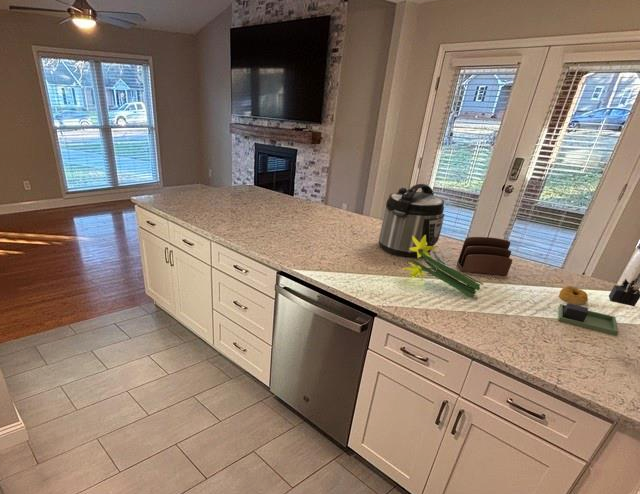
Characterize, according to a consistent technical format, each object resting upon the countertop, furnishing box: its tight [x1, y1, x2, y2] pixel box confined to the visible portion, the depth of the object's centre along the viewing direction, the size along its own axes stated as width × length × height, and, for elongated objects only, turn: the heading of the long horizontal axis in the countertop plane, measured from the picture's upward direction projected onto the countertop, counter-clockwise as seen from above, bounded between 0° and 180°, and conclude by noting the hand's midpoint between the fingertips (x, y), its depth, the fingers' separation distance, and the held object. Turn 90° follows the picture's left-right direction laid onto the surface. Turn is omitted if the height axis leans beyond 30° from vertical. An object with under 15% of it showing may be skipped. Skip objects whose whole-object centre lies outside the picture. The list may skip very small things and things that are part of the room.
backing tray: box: [557, 303, 619, 337], centre depth 152 cm, size 18×14×2 cm
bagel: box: [558, 285, 589, 306], centre depth 167 cm, size 10×11×5 cm
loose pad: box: [608, 284, 640, 307], centre depth 135 cm, size 6×5×4 cm
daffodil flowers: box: [402, 235, 484, 299], centre depth 172 cm, size 17×15×35 cm
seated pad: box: [563, 302, 589, 322], centre depth 153 cm, size 6×5×4 cm
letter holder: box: [456, 236, 514, 276], centre depth 189 cm, size 10×20×14 cm, turn 80°
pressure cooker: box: [378, 183, 445, 258], centre depth 203 cm, size 30×28×32 cm
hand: (621, 299), depth 136 cm, fingers closed on loose pad, 5 cm apart
